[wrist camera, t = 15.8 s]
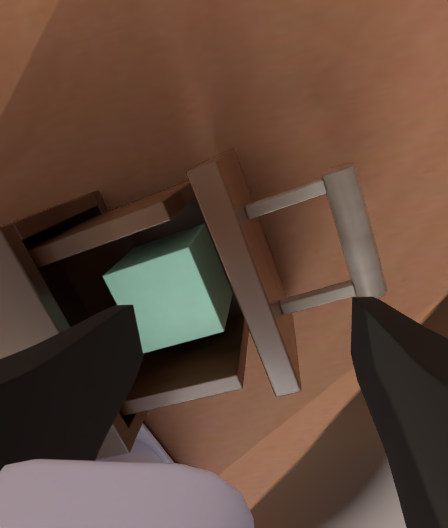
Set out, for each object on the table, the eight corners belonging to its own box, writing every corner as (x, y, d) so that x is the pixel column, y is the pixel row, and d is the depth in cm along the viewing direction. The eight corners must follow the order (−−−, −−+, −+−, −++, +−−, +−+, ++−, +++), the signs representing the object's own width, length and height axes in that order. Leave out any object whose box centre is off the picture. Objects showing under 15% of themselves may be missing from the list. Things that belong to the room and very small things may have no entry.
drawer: (326, 111, 18) (357, 104, 12) (375, 294, 21) (420, 366, 15) (40, 224, 22) (-52, 264, 16) (116, 363, 25) (64, 444, 19)
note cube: (205, 222, 20) (188, 246, 16) (233, 293, 21) (224, 332, 17) (133, 247, 21) (101, 276, 17) (164, 313, 22) (141, 354, 18)
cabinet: (98, 190, 22) (-2, 227, 14) (174, 349, 25) (130, 453, 17) (-71, 257, 25) (-233, 320, 17) (17, 391, 28) (-83, 496, 20)
